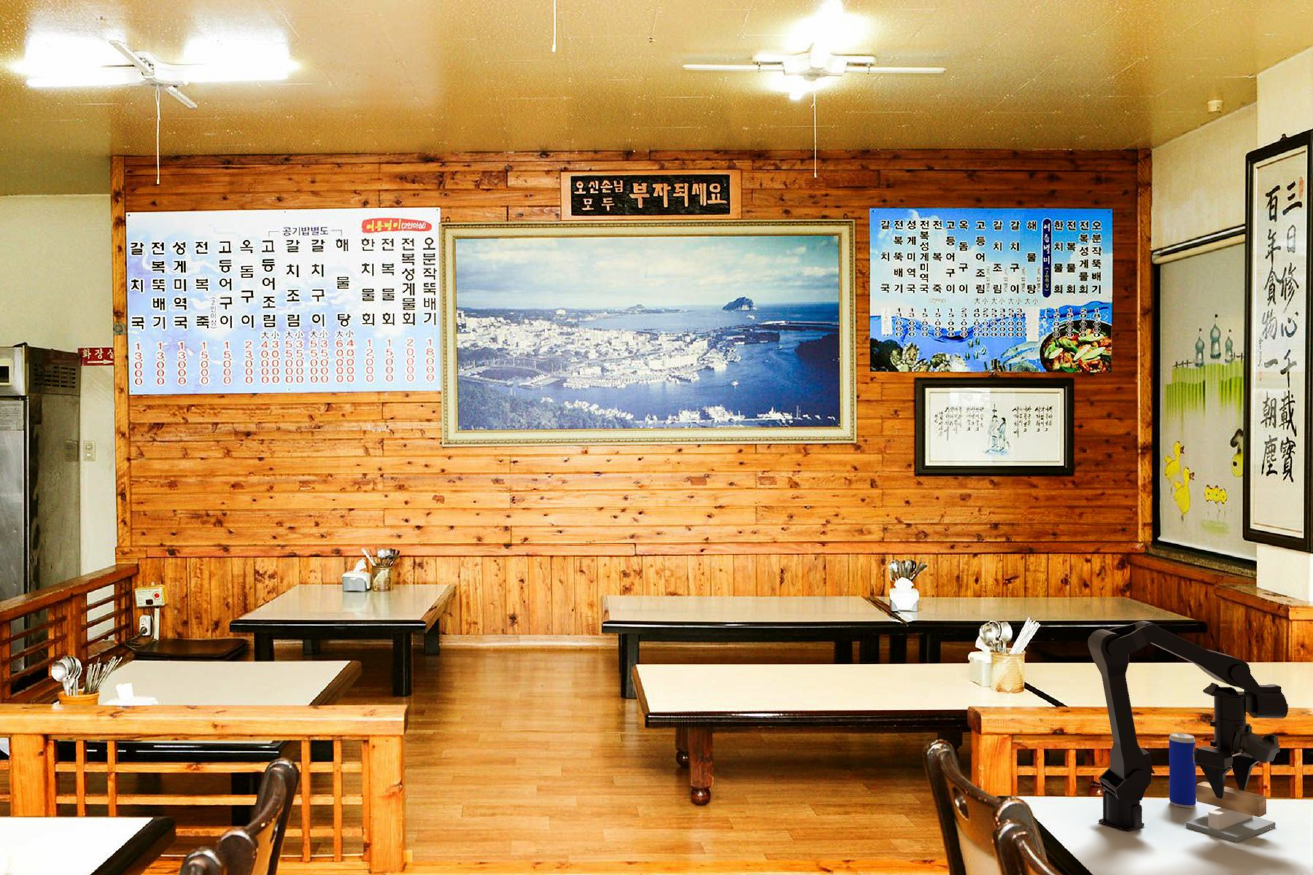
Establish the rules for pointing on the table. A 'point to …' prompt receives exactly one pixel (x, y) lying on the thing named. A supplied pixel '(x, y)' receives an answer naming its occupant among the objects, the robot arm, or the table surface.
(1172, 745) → the beverage can
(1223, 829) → the stand
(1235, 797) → the oak bar
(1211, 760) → the robot arm
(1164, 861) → the table surface
